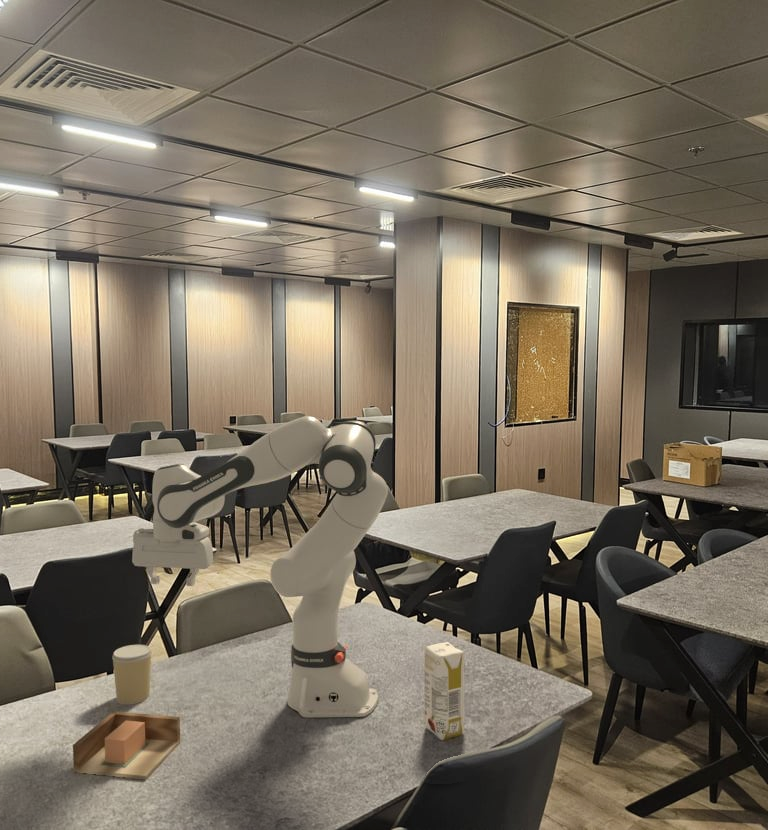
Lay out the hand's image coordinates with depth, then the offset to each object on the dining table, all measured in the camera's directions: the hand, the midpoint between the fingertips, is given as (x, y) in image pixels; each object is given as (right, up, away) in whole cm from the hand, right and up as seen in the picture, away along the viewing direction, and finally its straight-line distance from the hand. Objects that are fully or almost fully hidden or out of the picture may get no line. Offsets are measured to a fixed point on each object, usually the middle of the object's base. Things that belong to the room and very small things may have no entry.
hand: (173, 584), depth 180 cm
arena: (-2, -31, -26) cm, 40 cm away
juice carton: (+66, -30, -16) cm, 74 cm away
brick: (-2, -30, -26) cm, 40 cm away
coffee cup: (-11, -29, +3) cm, 31 cm away
